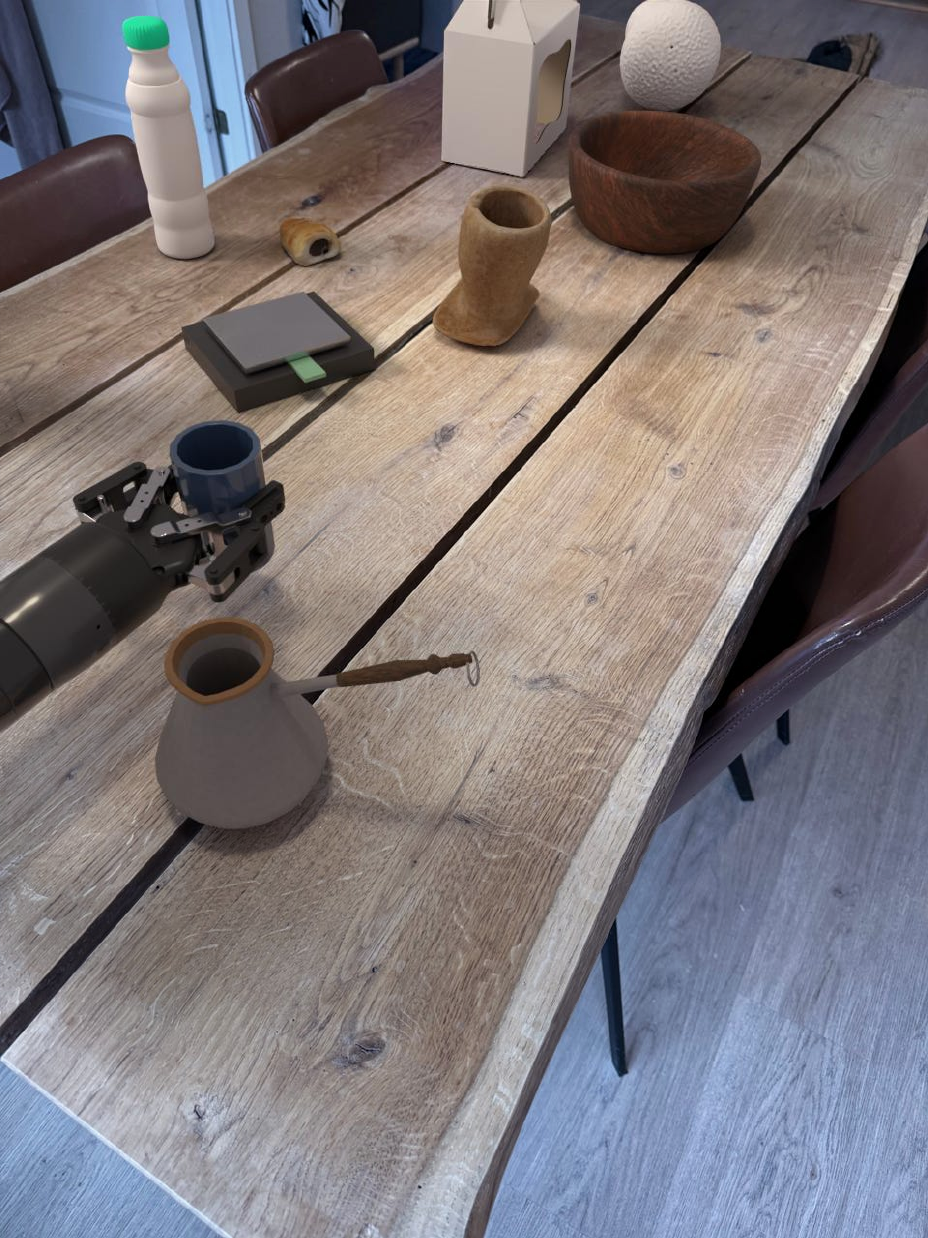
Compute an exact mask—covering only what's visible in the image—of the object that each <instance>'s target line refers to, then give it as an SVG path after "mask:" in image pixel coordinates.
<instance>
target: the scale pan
mask: <svg viewBox="0 0 928 1238" xmlns="http://www.w3.org/2000/svg"><path fill="white" fill-rule="evenodd" d="M201 320H202V321H203V325H204V326H205V327H206V328H207V329H208V331H209V332H210V333H211V334H212V335H213V336H214V338H215V339H216V340H217V341H218V342H219V343H220V345H221V346H222V347H223V348H224V349H225V350H226V352H227V353H228V354H229V355H230V356H231V357H232V359H233V360H234V361H235V362H236V363H237V364H238V366H239V367H240V368H241V369H242V370H243V371H244V373H245V374H248V373H252V372H255V371H259V370H262V369H265V368H269V367H272V366H275V365H279V364H282V363H285V362H289V361H292V360H295V359H299V358H302V357H305V356H309V355H312V354H315V353H319V352H322V351H325V350H329V349H332V348H336V347H339V346H342V345H346V344H349V343H351V340H350V336H349V335H348V334H347V333H346V332H345V331H344V330H343V329H342V328H341V327H340V326H339V325H338V324H337V323H336V322H335V321H334V320H333V319H332V318H330V317H329V316H328V315H327V314H326V313H325V312H324V311H323V310H322V309H321V308H320V307H319V306H318V305H317V304H316V303H315V302H314V301H313V300H312V299H311V298H310V297H309V296H308V295H307V294H306V292H305V291H300V292H296V293H291V294H288V295H285V296H281V297H278V298H273V299H269V300H266V301H263V302H259V303H255V304H251V305H247V306H244V307H240V308H236V309H233V310H229V311H225V312H221V313H217V314H214V315H210V316H207V317H202V319H201Z"/></svg>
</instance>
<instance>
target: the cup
mask: <svg viewBox="0 0 928 1238" xmlns="http://www.w3.org/2000/svg"><path fill="white" fill-rule="evenodd" d="M169 458H170V463H171V464H172V467H173V472H174V476H175V480H176V484H177V488H178V492H179V493H178V492H177V493H178V495H179V500H180V505H181V508H182V509H181V510H182V512H183V513H182V514H185V515H188V516H190V517H194V516H197V515H201V514H204V513H207V512H213V513H215V514H216V515H219V514H222V513H225V512H229V511H232V510H235V509H238V508H242V507H241V504H243V503H244V502H245V501H246V500H248V499H249V498H250V497H252V496H253V495H254V494H256V493H257V492H258V491H259V490H260V489H262V488H263V487H264V486H265V485H267V480H266V472H265V465H264V459H263V452H262V446H261V439H260V437H259V436H258V435H257V433H256V432H255V431H254V429H253V428H251V427H249V426H247V425H246V424H243V423H241V422H238V421H233V420H227V419H226V420H225V419H221V420H207V421H203V422H199V423H196V424H193V425H190V426H188V427H187V428H185V429H183V430H182V431H181V432H179V433H177V434H176V435H175V437H174V439H173V440H172V441H171V443H170V445H169ZM234 531H237V528H236V527H233V528H230V529H227V530H224V531H223V533H222V535H225V534H228V533H231V532H234ZM265 533H266V539H267V546H268V552H269V554H268V556H267V557H266V558H265V559H264V560H263V561H262V562H261V563H260V564H259V565H258V567H257V568H256V569H255V570H254V571H253V572H252V573H256V572H257V571H259V570H261V569H263V567H265V566H266V565H267V564H268V563H269V562H270V561H271V559H272V558H273V555H274V553H275V550H276V544H275V543H276V542H275V534H274V526H273V520H272V521H271V522H270V523H268V524H267V525H266V526H265ZM201 537H202V541H203V546H206V545H207V544H208V543H209V535H208V531H204V532H201ZM203 565H204V564H203ZM252 573H251V574H252Z"/></svg>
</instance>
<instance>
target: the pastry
mask: <svg viewBox="0 0 928 1238" xmlns="http://www.w3.org/2000/svg"><path fill="white" fill-rule="evenodd" d="M278 232H279V239H280V240H281V244H282V246H283V249H284V251H286V252H287V254H288V256H289V257H290V258H291V259H292V260H293V262H294V263H295V264H297V265H300V266H303V267H309V266H312V265H316V264H318V263H321V262H323V261H325V260H329V259H332V258H334V257H336V256H337V255H338V254H339V253H340V251H341V247H342V243H341V241H340V240H339V238H338V235H336V233H335V231H333V230H332V229H331V228H330V227H329V226H327V225H326V223H325V222H322V221H316V220H313V219H311V218H305V217H300V218H293V217H290V218H287V219H286V220H284V221H282V223H281V224H280V226H279V228H278Z"/></svg>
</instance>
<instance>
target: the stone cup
mask: <svg viewBox="0 0 928 1238" xmlns="http://www.w3.org/2000/svg"><path fill="white" fill-rule="evenodd" d="M552 220H553V219H552V213H551V211H550V208H549V206H548V205H547V203H546V202H545V201H544V200H543V198H541V197H540V196H538V195H537V194H536V193H534V192H533V191H531V190H529V189H527V188H524V187H523V186H519V185H515V184H508V183H503V184H502V183H501V184H489V185H486V186H484V187H482V188H480V189H479V190H477V191H476V192H474V194H472V196H471V197H470V199H469V200H468V202H467V204H466V206H465V208H464V211H463V214H462V218H461V223H460V230H459V235H458V247H457V248H458V249H457V251H458V252H457V255H458V256H457V259H458V266H459V269H460V275H461V278H460V279H459V281H458V282H457V283H456V285H455V286H454V287H453V288H452V289H451V290H450V292H448V294H447V295H446V296H445V298H443V300H442V301H441V303H440V304H439V305H438V307H437V309H436V310H435V312H434V314H433V318H432V325H433V327H434V329H435V330H436V331H437V332H438V333H440V334H442V335H443V336H445V337H447V338H450V339H452V340H455V341H458V342H461V343H464V344H470V345H474V346H483V347H485V346H491V347H496V346H500V345H503V344H505V343H506V342H507V341H509V340H510V339H511V338H512V337H513V336H514V335H515V334H516V333H517V332H518V331H519V330H520V328H521V327H522V325H523V323H524V322H525V320H526V319H527V317H528V315H529V314H530V312H531V311H532V309H533V307H534V306H535V304H536V302H537V301H538V299H539V297H540V291H539V290H538V288H537V287H536V286H535V285H534V284H532V283H530V282H531V280H532V278H533V276H534V275H535V273H536V271H537V270H538V267H539V265H540V264H541V261H542V259H543V257H544V256H545V253H546V250H547V248H548V244H549V240H550V233H551V230H552V223H553V221H552Z"/></svg>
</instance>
